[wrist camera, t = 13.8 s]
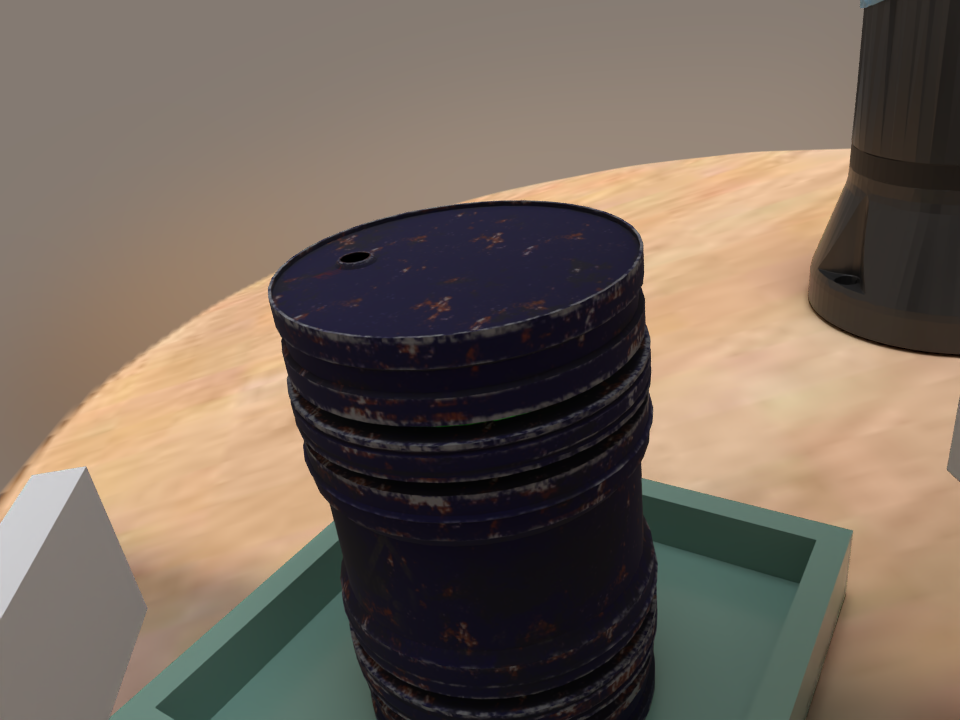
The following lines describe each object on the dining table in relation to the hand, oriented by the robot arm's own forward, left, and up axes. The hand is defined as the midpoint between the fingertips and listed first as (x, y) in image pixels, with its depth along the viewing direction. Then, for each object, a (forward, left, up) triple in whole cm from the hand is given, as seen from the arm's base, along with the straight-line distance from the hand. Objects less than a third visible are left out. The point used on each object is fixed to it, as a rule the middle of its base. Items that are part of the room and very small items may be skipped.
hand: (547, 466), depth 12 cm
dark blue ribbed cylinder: (-7, -7, -15) cm, 18 cm away
